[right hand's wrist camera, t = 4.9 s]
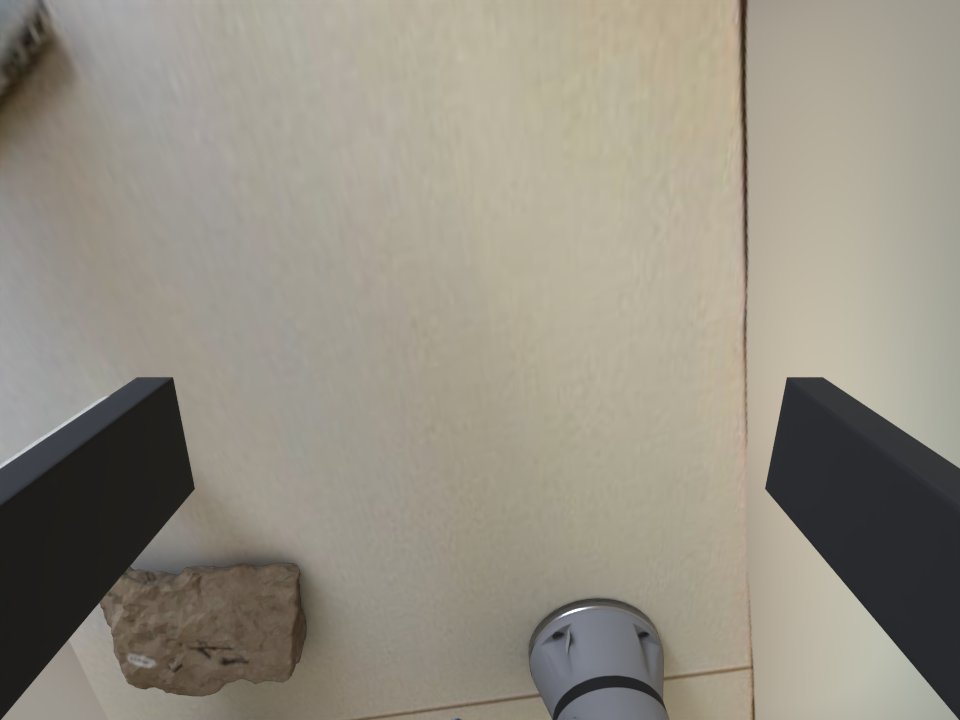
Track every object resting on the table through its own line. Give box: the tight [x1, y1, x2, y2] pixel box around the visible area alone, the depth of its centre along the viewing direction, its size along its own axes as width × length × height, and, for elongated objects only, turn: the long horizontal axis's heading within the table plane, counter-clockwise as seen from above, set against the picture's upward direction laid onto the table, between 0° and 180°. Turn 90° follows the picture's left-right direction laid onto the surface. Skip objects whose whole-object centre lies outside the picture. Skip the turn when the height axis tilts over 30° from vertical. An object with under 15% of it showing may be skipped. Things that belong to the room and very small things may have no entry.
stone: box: [100, 563, 306, 696], centre depth 63 cm, size 21×15×6 cm
